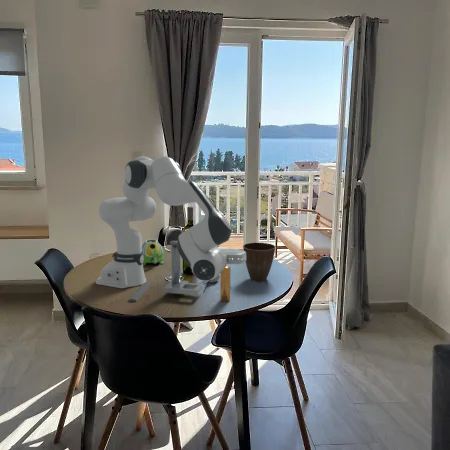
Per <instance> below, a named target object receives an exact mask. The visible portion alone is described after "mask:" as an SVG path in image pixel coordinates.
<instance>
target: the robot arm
mask: <svg viewBox="0 0 450 450" xmlns="http://www.w3.org/2000/svg"><path fill="white" fill-rule="evenodd" d="M123 177H124V181H123V184H122V187H121V189H122V194H123V195H124V196H122V197H121V196H120V197H119V196H118V197H111V198H107V199H104V200H102V201H101V202H100V203H99V206H98V215H99V218H100V219H101V220H102V221H103V222H104V223H106V224H107V225H108V226H109V227H110V228H111V229H112V231H113V232H114V236H115V242H116V251H115V252H113V253H112V255H111V258H113V259H112V260H111V261H110V262H109V263H107V264H106V265H105V266H104V267H103V268H102V270H101V272H100V276H99V277H98V278H97V279H95V284H96V285H98V286H99V285H100V286H105V287H112V288H118V289H126V288H130V287H137V286H141V285H142V284H144V283H147V278H146V275H145V270H144V265H143V251H142V245H143V242H142V241H143V240H142V239H143V237H142V235H141V233H140V232H139V230H136V229H134V228H132V227H130V222H140V221H146V220H149V219H153V218H154V216H155V215H156V213H157V203H156V201H155V200H154V199H153V198H152V197H151V196H149V195H150V191H151V190H154V189H155V193H156V194H157V196H158V198H159V199H160V201H161V202H162V203H164V204H165V205H168V206H171V207H172V206H173V207H178V206H184V205H186V204H191V203H196V204H197V205H198V207H199V208H200V210H201V211H202V212H203V214H204V215H205V216H204V218H203V219H202V220H200V221H199V222H198V223H195V224H194V225H193V226H191V227H189V228H188V229H186V230H185V231H183V232H182V233H180V234H179V235H178V237H177V240H176V241H177V249H178V252H179V254H180V258H181V259H182V260H183V261H184V263H186V264H187V265H188V266H189V268H190V269H191V270H192V271H191V272H192V274H193V275H194V277H195V278H196V279H198V280H200V281H201V282H203V281H204V282H206V281H207V282H209V281H210V280H212V279H214V278H216V277H217V276H218V275H221V271H222V270H223V269H224V268H225V266H228V265H242V264H244V263H246V262H245V261H246V252H245V251H244V250H224V249H222V248H221V247H219V246H220V245H222V244H224V243H227V242H228V241H229V240H230V238H231V234H232V227H231V224H230V223H229V221H228V220H227V219H226V217H225V216H223V215H222V214H221V212H220V211H219V210H218V209H217V207H216V206H215V205H214V203H213V202H212V200H210V198H209V196H208V195H207V194H206V193H205V192H204V190H203V189H202V188H201V187H200V185H198V184H197V183H196V182H194V181H192V180H190V181H188V180H186V179H185V175H184V174H183V172H182V168H181V166H180V164H179V163H178V161H175V160H174V159H173V158H171V157H170V156H166V155H165V156H160V157H157V158H155V159H153V158H150V157H149V156H144V155H143V156H138V157H135V159H133V160H131V161H128V162H127V163H126V165H125V167H124V176H123Z"/></svg>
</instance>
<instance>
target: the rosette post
mask: <svg viewBox="0 0 450 450" xmlns="http://www.w3.org/2000/svg"><path fill="white" fill-rule="evenodd" d="M169 244H170V245H171V246H170V247H171V251H170V252H171V281H170V282H168V283H167V284H166V285H165V286H164V288H163V291H164V293H168V294H170V295H171V294H173V295H189V296H191V295H192V296H197V295H199V294H200V293H201V291H202V290H204V289H203V285H204V283H201V284H200V283H192V282H191V283H190V282H189V280H181V256H180V254H179V252H178V249H177V240H171V241H170V242H169Z"/></svg>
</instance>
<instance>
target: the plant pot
mask: <svg viewBox="0 0 450 450" xmlns="http://www.w3.org/2000/svg"><path fill="white" fill-rule="evenodd" d="M242 248H243V251H245V252H246V261H245V262H244V263H245V264H246V269H247V272H248V275H249V278H250V280H251V281H253V282H265V281H267V278H268V276H269V274H270V271H271V267H272V265H273V261H274V257H275V251H276V245H275V244H272V243H269V242H268V243H266V242H250V243H249V242H248V243H244V244H243V246H242Z"/></svg>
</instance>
